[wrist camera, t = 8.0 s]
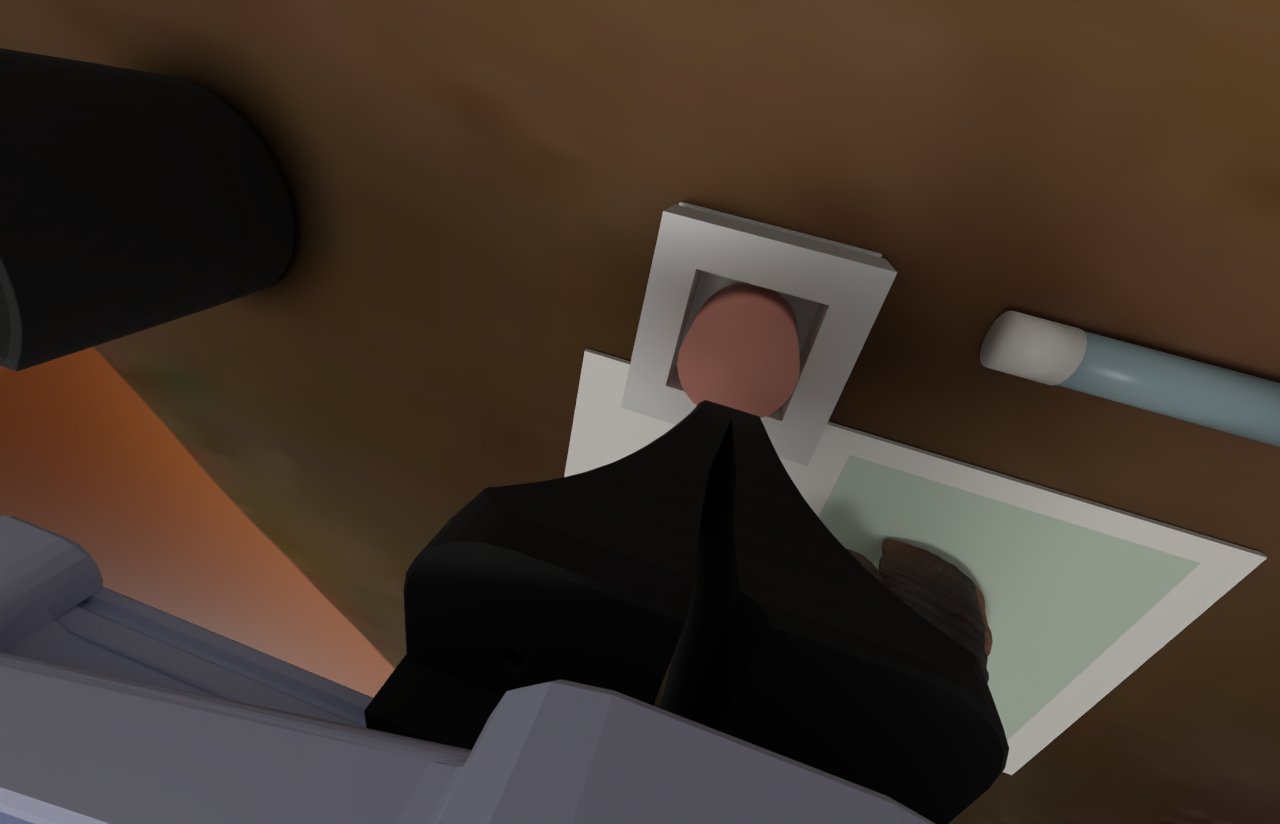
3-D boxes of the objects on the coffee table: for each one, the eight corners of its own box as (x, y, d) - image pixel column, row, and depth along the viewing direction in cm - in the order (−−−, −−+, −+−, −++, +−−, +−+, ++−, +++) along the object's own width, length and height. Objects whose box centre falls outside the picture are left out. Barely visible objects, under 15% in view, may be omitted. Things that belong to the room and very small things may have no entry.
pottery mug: (1029, 638, 23) (1010, 855, 19) (830, 596, 30) (785, 748, 26) (942, 480, 17) (888, 742, 13) (721, 475, 24) (644, 644, 20)
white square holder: (804, 425, 21) (807, 466, 18) (641, 375, 21) (620, 407, 19) (881, 253, 17) (897, 272, 14) (681, 201, 18) (663, 211, 15)
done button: (777, 393, 19) (775, 435, 16) (683, 364, 19) (665, 402, 16) (814, 299, 17) (818, 329, 14) (709, 270, 17) (694, 294, 15)
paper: (1009, 768, 26) (1011, 775, 26) (545, 597, 29) (543, 601, 29) (1260, 552, 18) (1267, 557, 18) (587, 348, 21) (584, 350, 21)
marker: (1294, 443, 17) (1349, 476, 15) (973, 355, 18) (992, 376, 16) (1346, 394, 16) (1411, 423, 14) (1003, 303, 17) (1027, 320, 15)
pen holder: (152, 4, 20) (-347, -104, 11) (342, 200, 21) (41, 237, 13) (105, 186, 24) (-274, 210, 15) (264, 335, 26) (4, 430, 17)
